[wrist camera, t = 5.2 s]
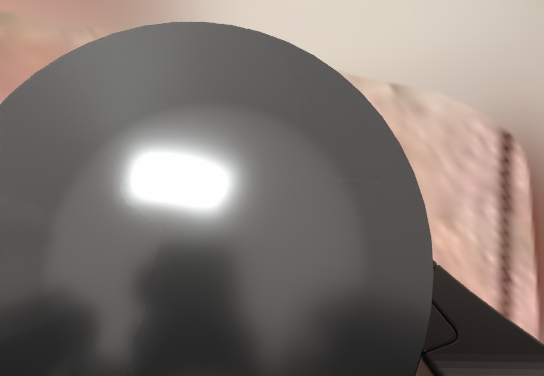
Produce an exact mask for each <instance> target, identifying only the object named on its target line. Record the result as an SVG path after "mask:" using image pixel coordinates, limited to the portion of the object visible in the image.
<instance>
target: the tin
mask: <svg viewBox="0 0 544 376" xmlns="http://www.w3.org/2000/svg"><path fill="white" fill-rule="evenodd" d="M433 274H434V272H433V257H432V241H431V234H430V229H429V224H428V219H427V214H426V209H425V204H424V201H423V198H422V195H421V192H420V189H419V186H418V183H417V180H416V177H415V174H414V172H413V169H412V167H411V165H410V163H409V161H408V159H407V157H406V155H405V153H404V151H403V149H402V147H401V145H400V143H399V141H398V140H397V138H396V137H395V135H394V134H393V132H392V131H391V129H390V128H389V126H388V125H387V123H386V122H385V120H384V119H383V117H382V116H381V115H380V114H379V113H378V111H377V110H376V109H375V108H374V107H373V106H372V104H371V103H370V102H369V101H368V100H367V99H366V97H365V96H364V95H363V94H362V93H361V92H360V91H359V90H358V89H357V88H355V87H354V86H353V85H352V84H351V83H350V82H349V81H348V80H346V79H345V78H344V77H343V76H342V75H341V74H340V73H339V72H337V71H336V70H334V69H333V68H331V67H330V66H328V65H327V64H326V63H324V62H322V61H321V60H320V59H318V58H317V57H315V56H314V55H312V54H310V53H308V52H306V51H304V50H302V49H300V48H298V47H296V46H294V45H293V44H291V43H289V42H286V41H284V40H281V39H278V38H275V37H273V36H270V35H267V34H264V33H261V32H259V31H254V30H250V29H245V28H241V27H237V26H233V25H225V24H216V23H207V22H171V23H164V24H156V25H148V26H142V27H138V28H134V29H130V30H125V31H121V32H117V33H114V34H111V35H109V36H106V37H103V38H100V39H98V40H95V41H92V42H90V43H87V44H85V45H83V46H81V47H79V48H77V49H75V50H73V51H71V52H69V53H67V54H65V55H63V56H61V57H60V58H58V59H57V60H55V61H53V62H52V63H50V64H49V65H47V66H46V67H44V68H43V69H41V70H40V71H38V72H37V73H35V74H34V75H33V76H31V77H30V78H29V79H28V80H27V81H25V82H24V83H23V84H22V85H20V86H19V87H18V88H17V89H16V90H14V91H13V92H12V93H11V94H10V95H9V96H8V97H7V98H6V99H5V100H4V101H3V102H2V103H1V104H0V376H414V373H415V370H416V367H417V364H418V361H419V358H420V355H421V352H422V349H423V347H424V343H425V338H426V333H427V327H428V322H429V317H430V312H431V305H432V289H433Z"/></svg>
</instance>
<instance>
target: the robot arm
mask: <svg viewBox="0 0 544 376" xmlns="http://www.w3.org/2000/svg"><path fill="white" fill-rule="evenodd" d="M433 272H434V274H433V289H432V305H431V312H430V317H429V322H428V327H427V333H426V338H425V343H424V347H423V349H422V352H421V355H420V358H419V361H418V364H417V367H416V370H415V373H414V376H544V344H543V343H541V342H540V341H538V340H537V339H536V338H534V337H533V336H531V335H530V334H529V333H527V332H526V331H524V330H523V329H522V328H520V327H519V326H517V325H516V324H515V323H513V322H512V321H510V320H509V319H508V318H506V317H505V316H503V315H502V314H501V313H499V312H498V311H497V310H495V309H494V308H492V307H491V306H490V305H488V304H487V303H486V302H484V301H483V300H482V299H480V298H479V297H478V296H476V295H475V294H474V293H472V292H471V291H470V290H469V289H467V288H466V287H465V286H464V285H462V284H461V283H460V282H459V281H458V280H456V279H455V278H454V277H453V276H451V275H450V274H449V273H448V272H447V271H446V270H444V269H443V268H442V267H441V266H440V265H437V263H436V262H435V261H434V260H433Z"/></svg>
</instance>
